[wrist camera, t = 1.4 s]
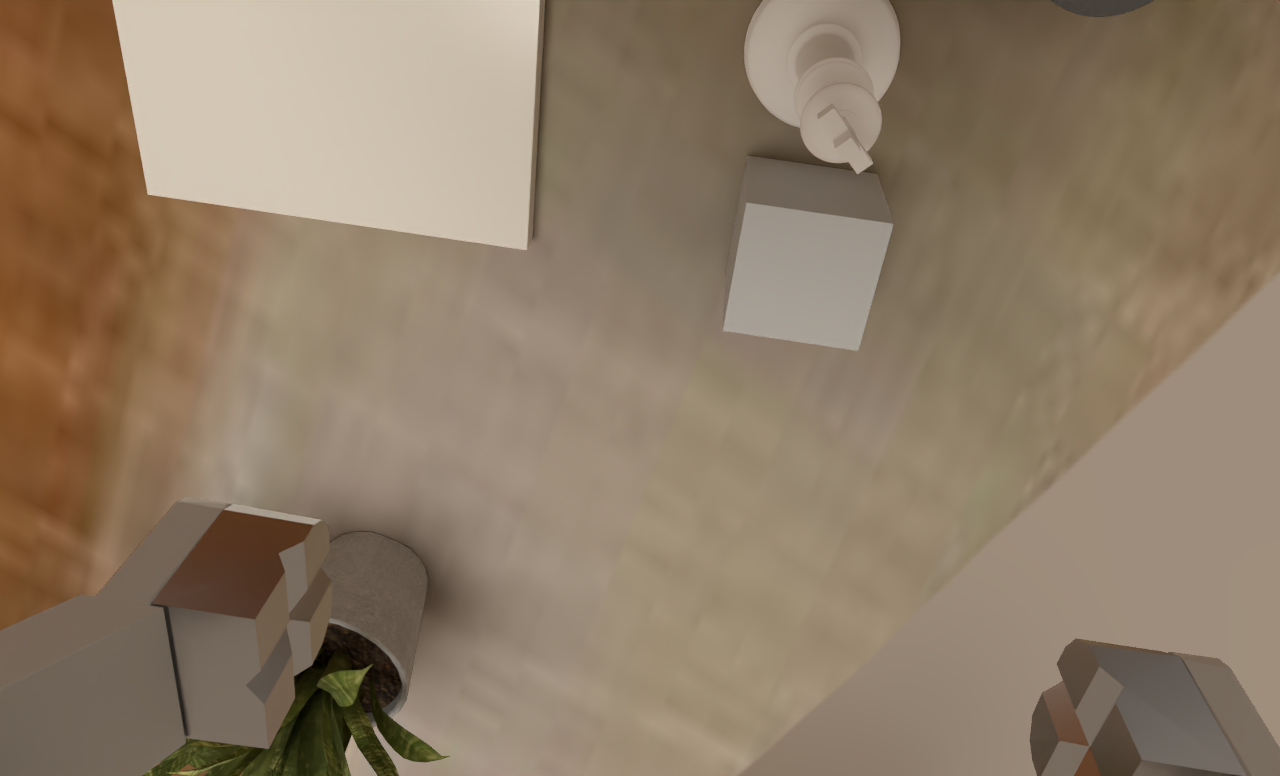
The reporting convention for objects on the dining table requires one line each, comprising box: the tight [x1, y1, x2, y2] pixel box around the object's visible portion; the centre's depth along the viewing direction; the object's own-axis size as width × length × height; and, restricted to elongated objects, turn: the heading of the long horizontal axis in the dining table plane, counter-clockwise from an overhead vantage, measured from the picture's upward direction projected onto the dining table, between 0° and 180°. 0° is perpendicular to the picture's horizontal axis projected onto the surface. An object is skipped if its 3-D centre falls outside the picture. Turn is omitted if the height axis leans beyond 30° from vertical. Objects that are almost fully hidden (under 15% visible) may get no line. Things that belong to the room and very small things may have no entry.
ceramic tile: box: [113, 0, 545, 250], centre depth 31 cm, size 14×14×1 cm
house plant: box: [142, 532, 449, 776], centre depth 38 cm, size 14×14×16 cm
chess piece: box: [744, 0, 901, 174], centre depth 26 cm, size 5×5×10 cm
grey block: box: [723, 155, 894, 351], centre depth 32 cm, size 4×4×4 cm
